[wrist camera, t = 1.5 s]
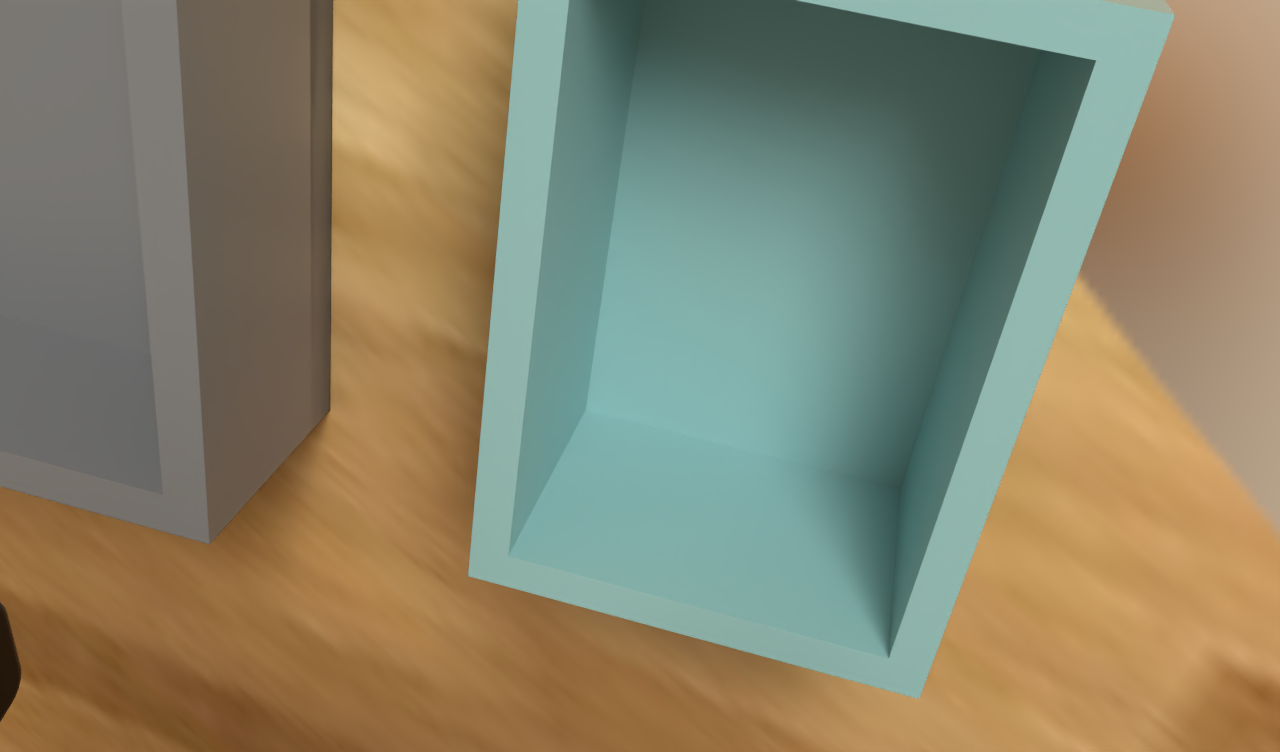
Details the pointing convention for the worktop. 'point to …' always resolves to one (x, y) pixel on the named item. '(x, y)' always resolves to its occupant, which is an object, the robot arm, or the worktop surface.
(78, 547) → the worktop surface
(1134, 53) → the teal crate
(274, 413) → the charcoal crate
